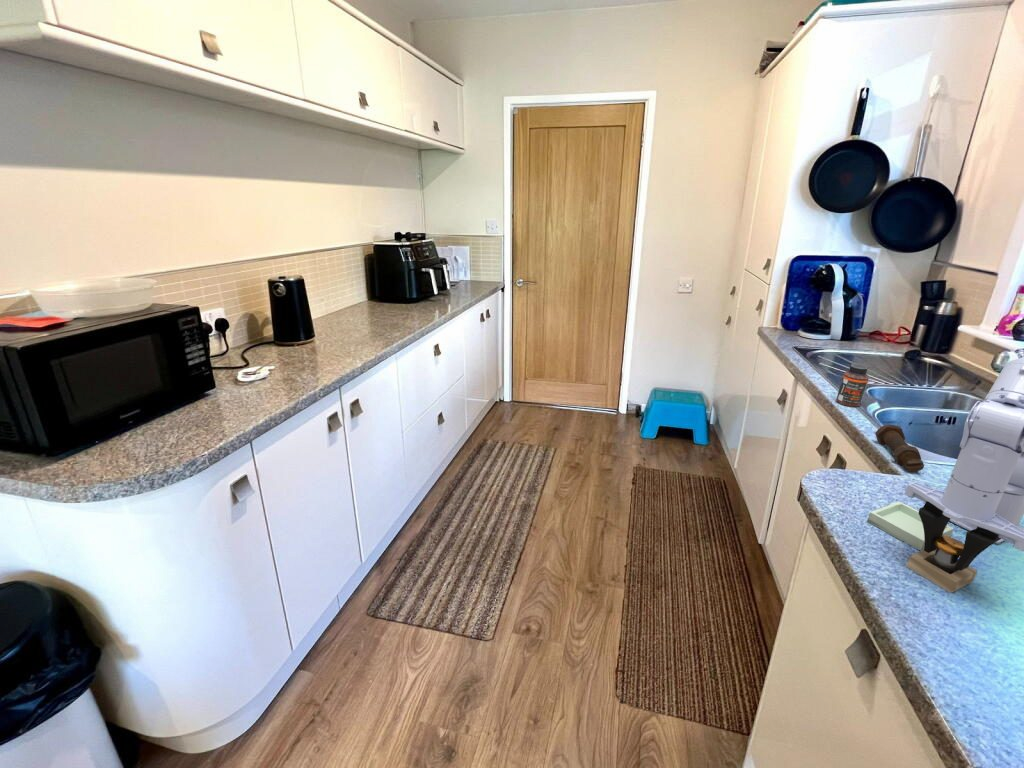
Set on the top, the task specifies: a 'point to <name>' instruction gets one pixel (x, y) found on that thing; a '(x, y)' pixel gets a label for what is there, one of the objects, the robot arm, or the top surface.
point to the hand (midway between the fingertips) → (945, 558)
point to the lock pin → (947, 553)
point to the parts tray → (902, 523)
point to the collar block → (940, 572)
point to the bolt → (900, 447)
